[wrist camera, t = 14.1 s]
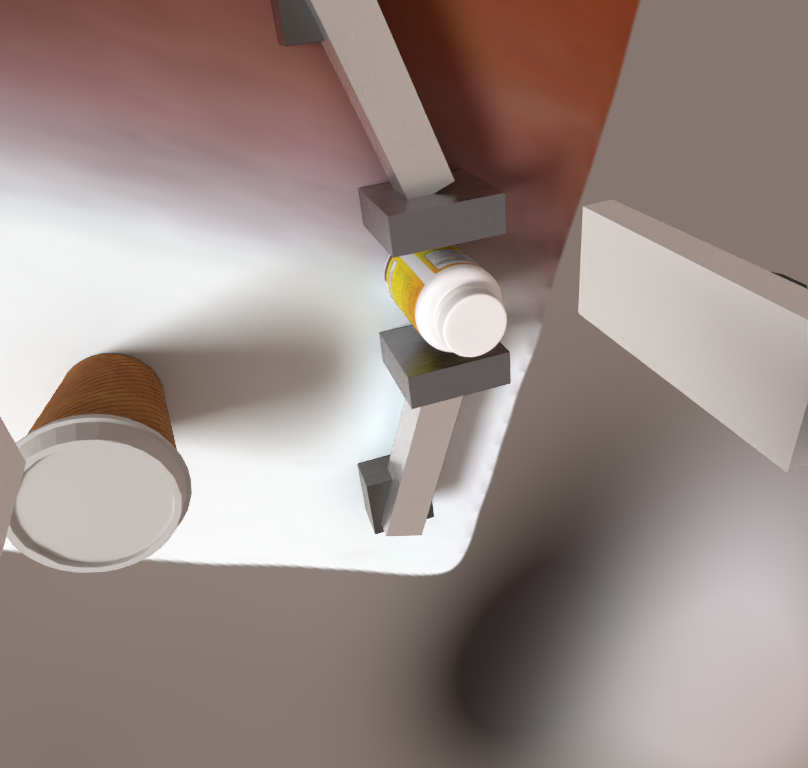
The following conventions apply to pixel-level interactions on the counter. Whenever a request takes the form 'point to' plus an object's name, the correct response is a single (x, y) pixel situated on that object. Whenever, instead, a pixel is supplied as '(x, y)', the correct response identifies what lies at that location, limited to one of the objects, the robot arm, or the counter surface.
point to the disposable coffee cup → (100, 471)
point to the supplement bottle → (448, 299)
